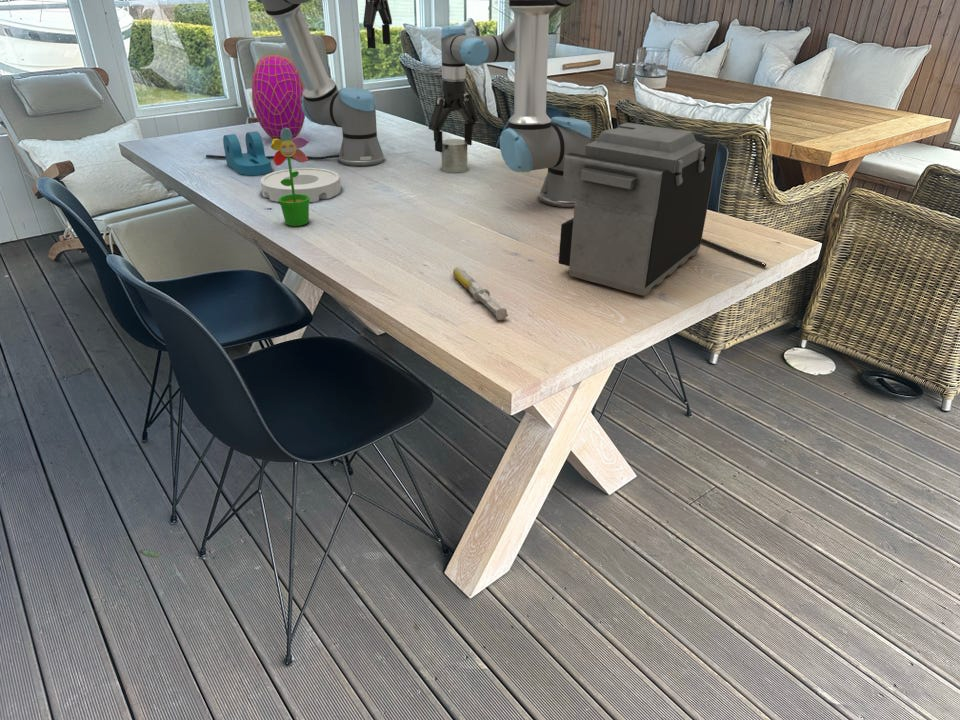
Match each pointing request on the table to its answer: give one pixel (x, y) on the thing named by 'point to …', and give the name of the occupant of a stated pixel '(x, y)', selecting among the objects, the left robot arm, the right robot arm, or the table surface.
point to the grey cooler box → (636, 205)
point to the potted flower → (291, 178)
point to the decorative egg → (277, 96)
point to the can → (454, 155)
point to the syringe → (479, 293)
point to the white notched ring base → (302, 184)
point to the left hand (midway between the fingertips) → (379, 46)
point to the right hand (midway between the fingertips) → (453, 147)
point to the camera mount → (246, 154)
